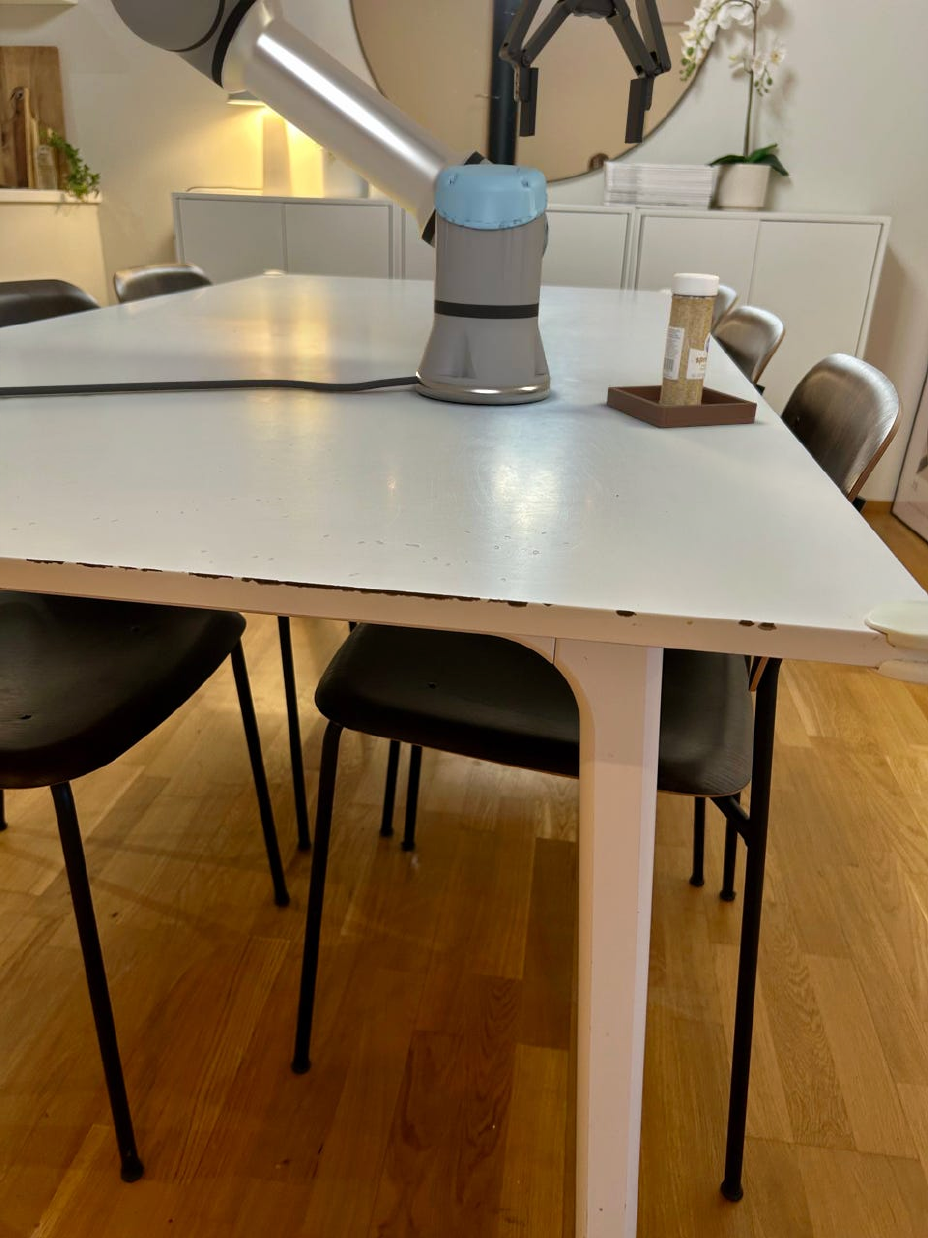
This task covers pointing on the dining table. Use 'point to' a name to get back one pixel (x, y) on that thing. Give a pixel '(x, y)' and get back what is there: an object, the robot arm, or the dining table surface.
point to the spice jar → (688, 338)
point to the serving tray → (681, 407)
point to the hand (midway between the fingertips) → (581, 139)
